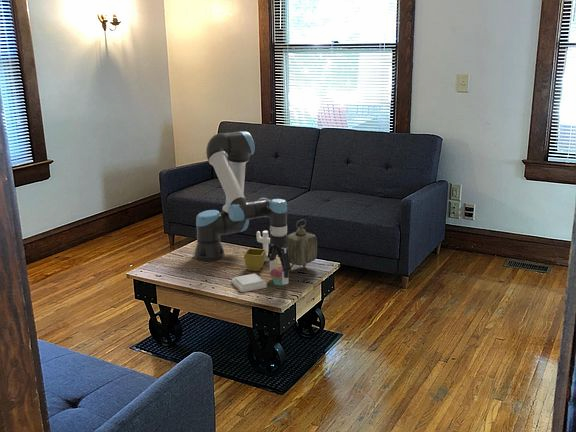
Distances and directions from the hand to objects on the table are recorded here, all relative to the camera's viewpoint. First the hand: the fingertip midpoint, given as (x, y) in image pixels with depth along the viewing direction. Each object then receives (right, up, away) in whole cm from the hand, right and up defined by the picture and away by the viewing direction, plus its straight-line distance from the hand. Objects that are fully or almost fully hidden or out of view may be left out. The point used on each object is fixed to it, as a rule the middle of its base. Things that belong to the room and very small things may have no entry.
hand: (279, 278), depth 274 cm
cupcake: (0, -2, +1) cm, 2 cm away
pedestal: (-13, -3, -1) cm, 14 cm away
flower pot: (-12, +3, +18) cm, 21 cm away
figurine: (-7, +6, +30) cm, 32 cm away
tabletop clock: (+11, +3, +17) cm, 20 cm away
